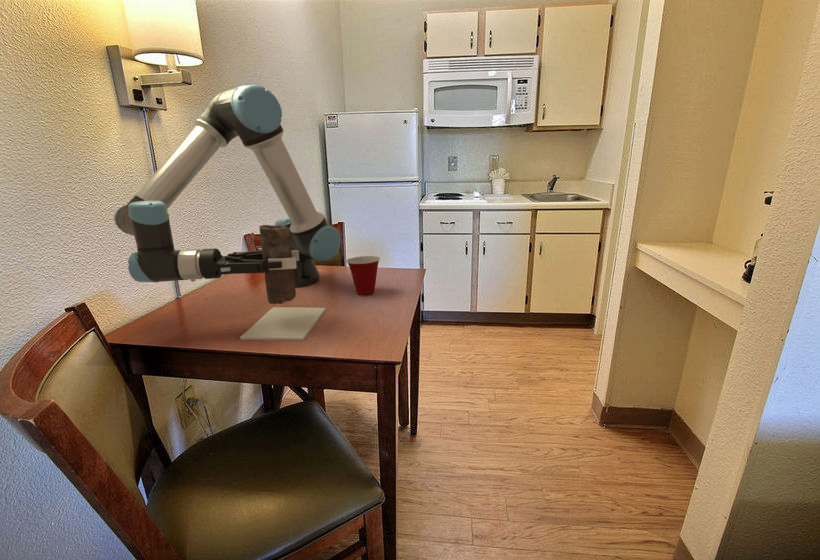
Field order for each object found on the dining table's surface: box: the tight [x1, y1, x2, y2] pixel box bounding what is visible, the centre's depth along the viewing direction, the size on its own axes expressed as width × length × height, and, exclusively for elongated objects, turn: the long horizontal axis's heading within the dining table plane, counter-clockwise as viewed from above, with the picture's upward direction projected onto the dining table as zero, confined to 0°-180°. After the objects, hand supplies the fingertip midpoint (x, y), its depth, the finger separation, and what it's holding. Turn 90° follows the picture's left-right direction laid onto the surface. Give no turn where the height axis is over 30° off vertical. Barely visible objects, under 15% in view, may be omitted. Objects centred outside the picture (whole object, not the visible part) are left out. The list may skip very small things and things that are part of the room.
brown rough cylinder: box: [259, 224, 297, 305], centre depth 100 cm, size 8×7×20 cm
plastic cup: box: [346, 255, 381, 297], centre depth 126 cm, size 11×11×12 cm
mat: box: [239, 306, 327, 342], centre depth 105 cm, size 20×16×1 cm
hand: (297, 259), depth 100 cm, fingers closed on brown rough cylinder, 7 cm apart
